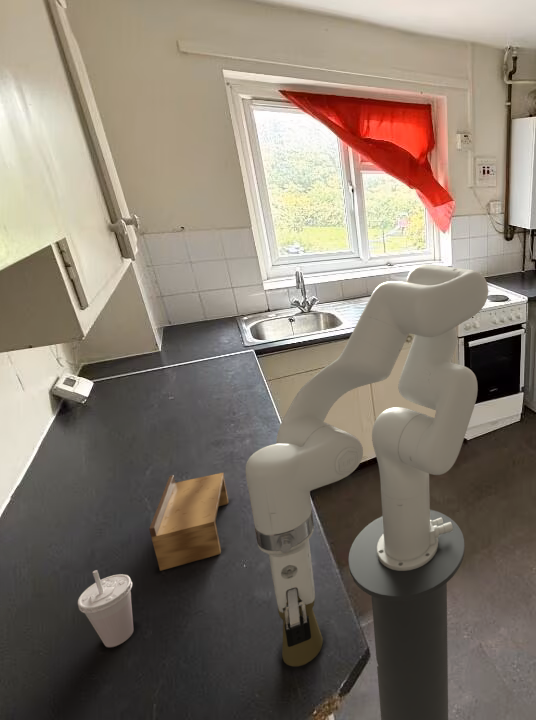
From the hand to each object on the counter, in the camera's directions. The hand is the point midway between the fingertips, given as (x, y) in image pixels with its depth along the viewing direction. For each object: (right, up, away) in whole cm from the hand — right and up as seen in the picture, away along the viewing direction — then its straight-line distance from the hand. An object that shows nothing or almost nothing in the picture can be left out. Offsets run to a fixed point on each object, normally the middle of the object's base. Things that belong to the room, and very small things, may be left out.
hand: (298, 617), depth 67 cm
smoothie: (-31, -5, +3) cm, 32 cm away
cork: (0, -6, +2) cm, 6 cm away
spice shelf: (-34, +2, +25) cm, 42 cm away
